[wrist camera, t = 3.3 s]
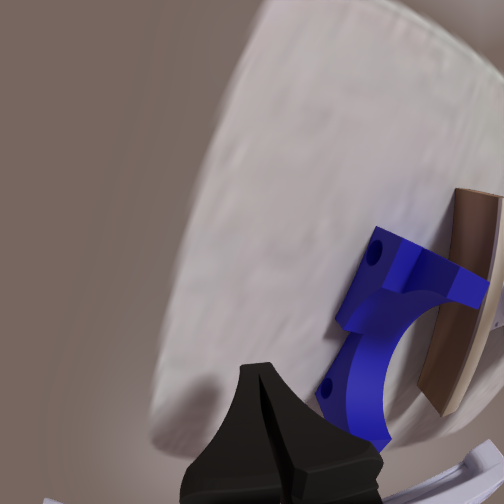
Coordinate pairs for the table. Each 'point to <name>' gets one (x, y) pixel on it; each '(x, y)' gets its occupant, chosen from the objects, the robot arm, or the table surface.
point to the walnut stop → (462, 316)
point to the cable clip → (386, 326)
